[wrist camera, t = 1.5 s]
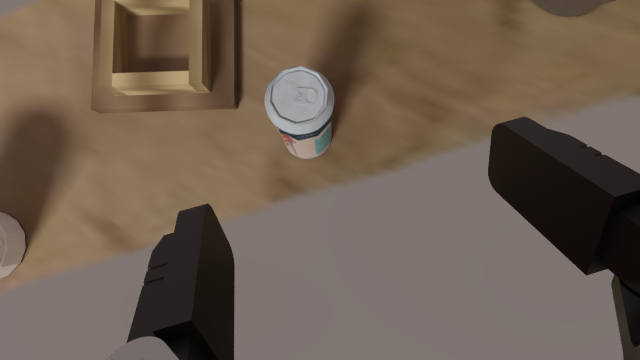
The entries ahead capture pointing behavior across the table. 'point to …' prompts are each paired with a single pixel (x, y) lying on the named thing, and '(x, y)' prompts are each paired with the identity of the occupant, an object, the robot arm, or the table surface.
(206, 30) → the caddy
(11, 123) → the table surface
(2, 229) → the white cup
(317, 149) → the beer can
